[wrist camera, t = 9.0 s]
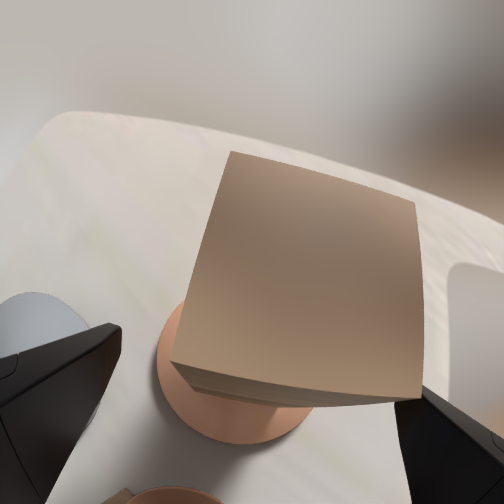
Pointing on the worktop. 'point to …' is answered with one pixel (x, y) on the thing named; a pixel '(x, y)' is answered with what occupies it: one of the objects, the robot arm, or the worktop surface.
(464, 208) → the worktop surface
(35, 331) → the slate dish
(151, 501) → the balance
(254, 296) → the walnut block
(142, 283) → the worktop surface
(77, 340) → the robot arm
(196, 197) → the worktop surface
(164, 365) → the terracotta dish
